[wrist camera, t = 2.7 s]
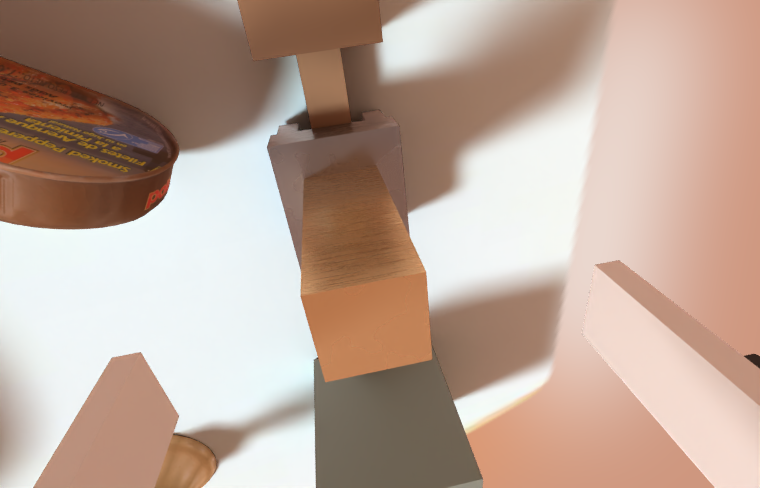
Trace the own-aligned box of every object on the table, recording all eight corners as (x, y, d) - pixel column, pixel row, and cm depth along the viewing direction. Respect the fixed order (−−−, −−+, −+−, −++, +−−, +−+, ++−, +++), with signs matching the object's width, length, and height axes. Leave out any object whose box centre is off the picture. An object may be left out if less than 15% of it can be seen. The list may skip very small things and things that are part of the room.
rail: (253, 3, 18) (237, -1, 14) (360, -11, 18) (376, -20, 14) (339, 354, 30) (345, 410, 26) (403, 341, 30) (419, 394, 26)
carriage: (273, 126, 20) (234, 250, 10) (385, 108, 21) (469, 207, 10) (302, 240, 24) (298, 424, 13) (397, 223, 25) (469, 387, 14)
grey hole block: (313, 359, 30) (316, 518, 20) (433, 335, 30) (489, 477, 21) (334, 431, 34) (345, 587, 25) (438, 408, 35) (486, 551, 26)
